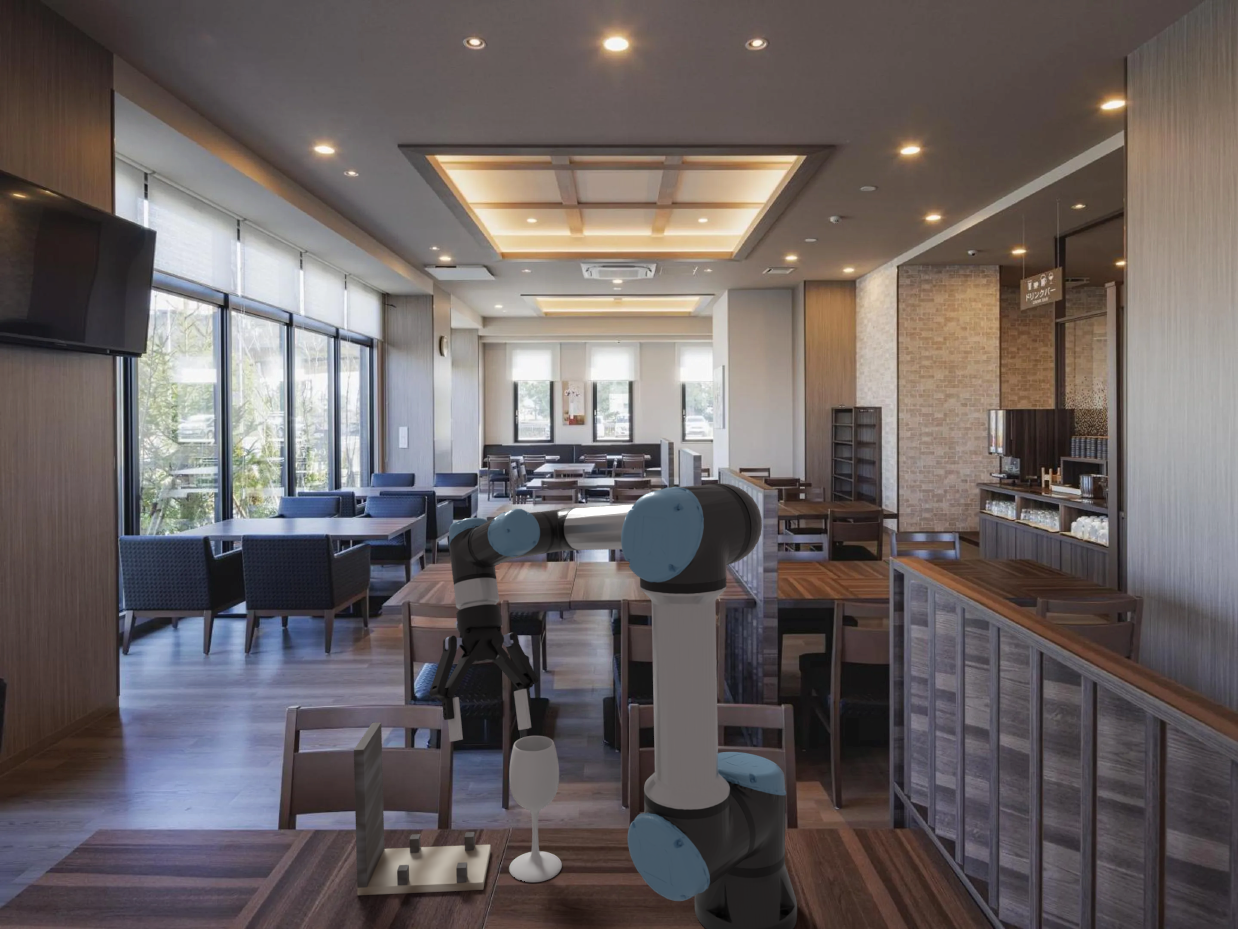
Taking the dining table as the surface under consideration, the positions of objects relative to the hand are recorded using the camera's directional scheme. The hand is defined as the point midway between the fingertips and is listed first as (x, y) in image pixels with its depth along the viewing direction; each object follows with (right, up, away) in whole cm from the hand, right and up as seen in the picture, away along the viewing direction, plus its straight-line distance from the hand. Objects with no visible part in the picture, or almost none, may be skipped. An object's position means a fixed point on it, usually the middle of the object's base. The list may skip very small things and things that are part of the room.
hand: (491, 734), depth 126 cm
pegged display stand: (-10, -22, -1) cm, 25 cm away
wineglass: (+7, -22, 0) cm, 23 cm away
